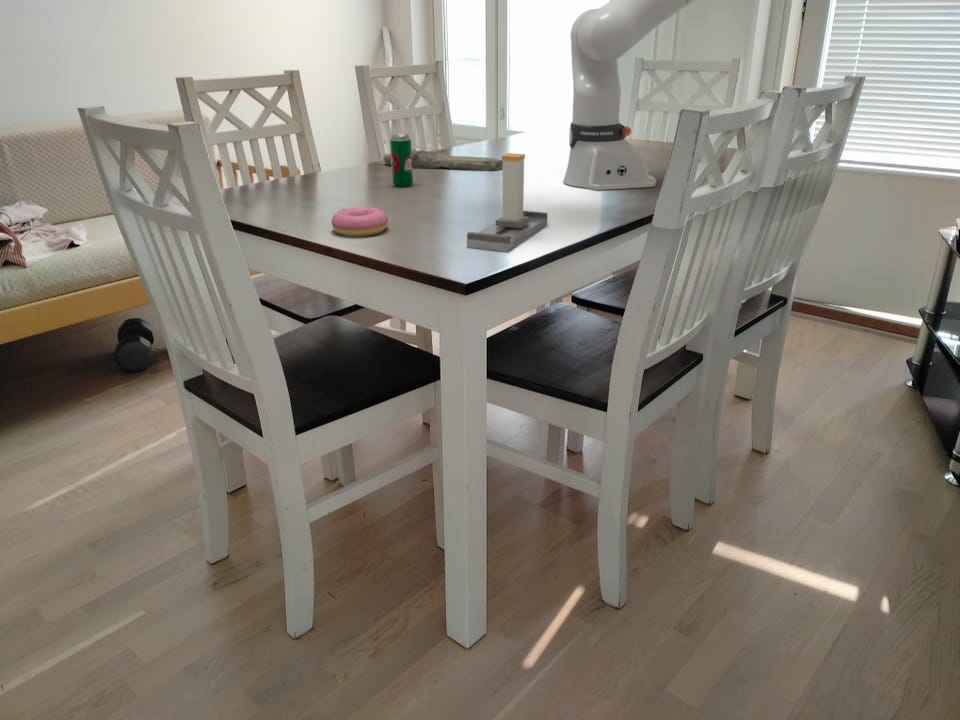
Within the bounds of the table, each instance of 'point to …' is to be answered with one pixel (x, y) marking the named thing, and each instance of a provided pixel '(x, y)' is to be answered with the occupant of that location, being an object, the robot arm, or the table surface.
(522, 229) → the fader rail
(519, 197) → the fader tab
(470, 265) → the table surface
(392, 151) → the soda can
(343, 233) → the doughnut
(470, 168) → the elongated rock
